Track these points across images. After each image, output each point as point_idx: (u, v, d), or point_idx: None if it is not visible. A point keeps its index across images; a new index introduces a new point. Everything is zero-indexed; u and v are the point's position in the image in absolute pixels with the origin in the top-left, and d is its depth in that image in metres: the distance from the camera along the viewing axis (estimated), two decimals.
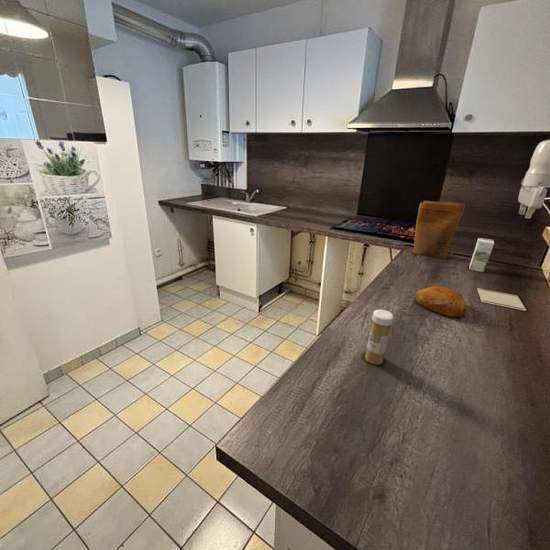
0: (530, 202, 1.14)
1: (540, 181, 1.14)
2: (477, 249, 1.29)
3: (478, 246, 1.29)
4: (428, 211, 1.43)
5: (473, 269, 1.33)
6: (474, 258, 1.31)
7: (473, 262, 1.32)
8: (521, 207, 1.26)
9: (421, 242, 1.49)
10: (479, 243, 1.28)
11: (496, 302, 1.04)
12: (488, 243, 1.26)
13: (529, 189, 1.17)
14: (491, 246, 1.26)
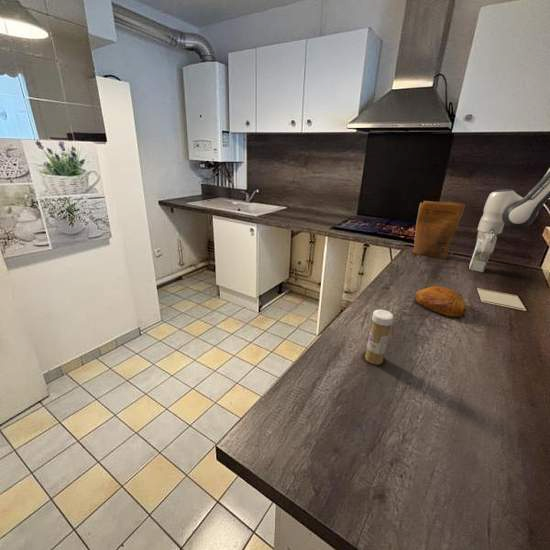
0: (482, 247, 1.23)
1: (492, 228, 1.23)
2: (477, 249, 1.29)
3: (478, 246, 1.29)
4: (428, 211, 1.43)
5: (473, 269, 1.33)
6: (474, 258, 1.31)
7: (473, 262, 1.32)
8: None
9: (421, 242, 1.49)
10: (479, 243, 1.28)
11: (496, 302, 1.04)
12: None
13: (483, 234, 1.27)
14: None
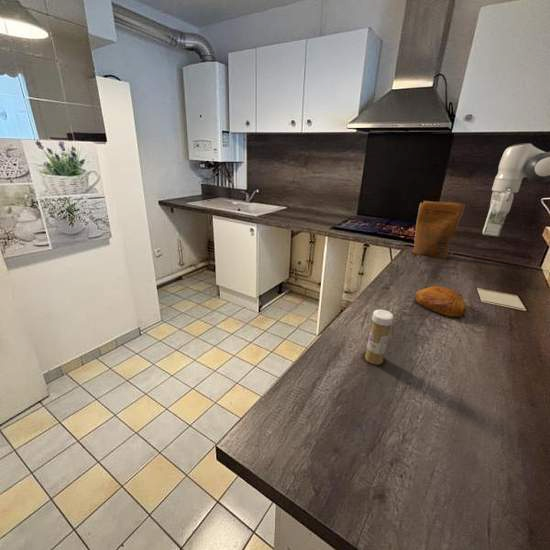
0: (498, 207, 1.15)
1: (508, 186, 1.14)
2: (491, 211, 1.21)
3: (493, 208, 1.20)
4: (428, 211, 1.43)
5: (487, 233, 1.24)
6: (488, 221, 1.23)
7: (487, 226, 1.23)
8: None
9: (421, 242, 1.49)
10: (494, 204, 1.20)
11: (496, 302, 1.04)
12: None
13: (498, 194, 1.18)
14: None
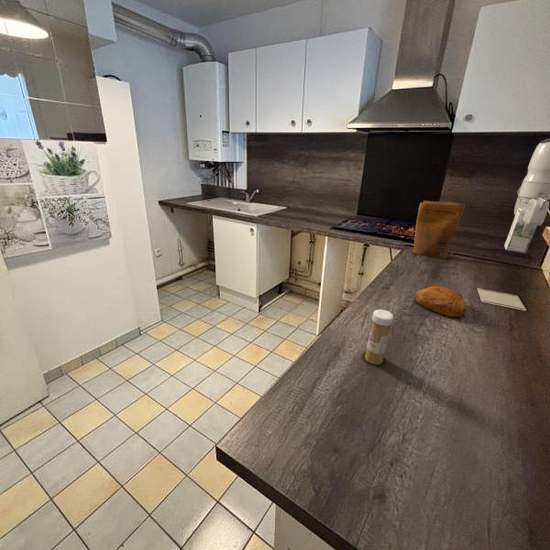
0: (528, 217, 0.91)
1: (541, 191, 0.91)
2: (518, 221, 0.97)
3: (519, 217, 0.97)
4: (428, 211, 1.43)
5: (511, 249, 1.01)
6: (513, 234, 0.99)
7: (512, 239, 1.00)
8: None
9: (421, 242, 1.49)
10: (521, 213, 0.96)
11: (496, 302, 1.04)
12: None
13: (527, 201, 0.95)
14: None
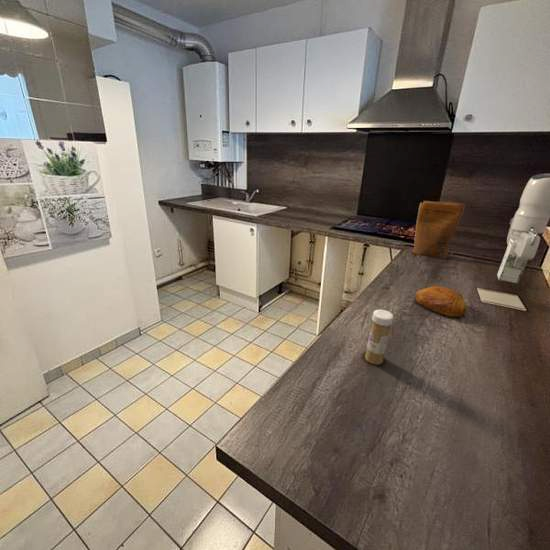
0: (520, 251, 0.93)
1: (532, 225, 0.92)
2: (510, 253, 0.99)
3: (511, 249, 0.98)
4: (428, 211, 1.43)
5: (504, 279, 1.02)
6: (505, 265, 1.01)
7: (504, 270, 1.01)
8: None
9: (421, 242, 1.49)
10: (513, 245, 0.98)
11: (496, 302, 1.04)
12: None
13: (519, 234, 0.96)
14: None
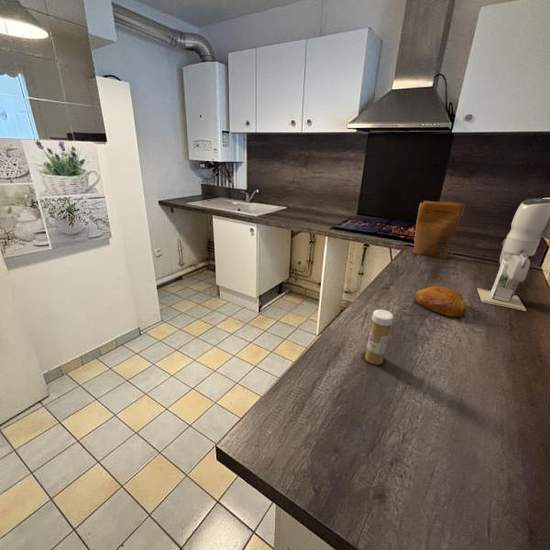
0: (511, 273, 0.96)
1: (523, 249, 0.96)
2: (502, 273, 1.02)
3: (504, 270, 1.01)
4: (428, 211, 1.43)
5: (496, 298, 1.05)
6: (498, 284, 1.04)
7: (497, 289, 1.04)
8: None
9: (421, 242, 1.49)
10: (505, 266, 1.01)
11: (496, 302, 1.04)
12: None
13: (510, 256, 0.99)
14: None
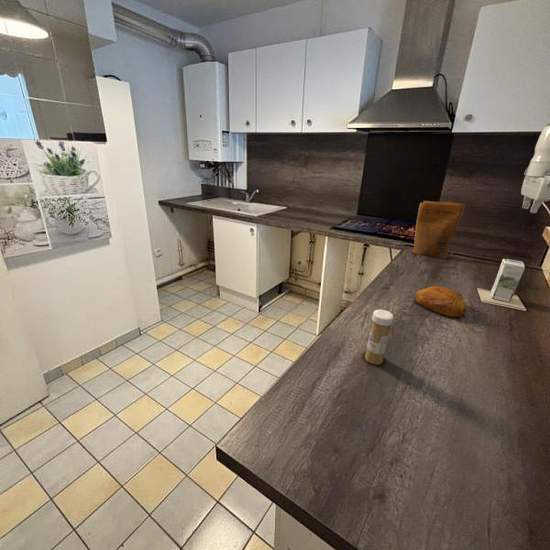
0: (536, 194, 0.99)
1: (547, 170, 0.99)
2: (502, 273, 1.02)
3: (504, 270, 1.01)
4: (428, 211, 1.43)
5: (496, 298, 1.05)
6: (498, 284, 1.04)
7: (497, 289, 1.04)
8: (525, 201, 1.12)
9: (421, 242, 1.49)
10: (505, 266, 1.01)
11: (496, 302, 1.04)
12: (517, 267, 0.99)
13: (534, 179, 1.03)
14: (521, 270, 0.99)
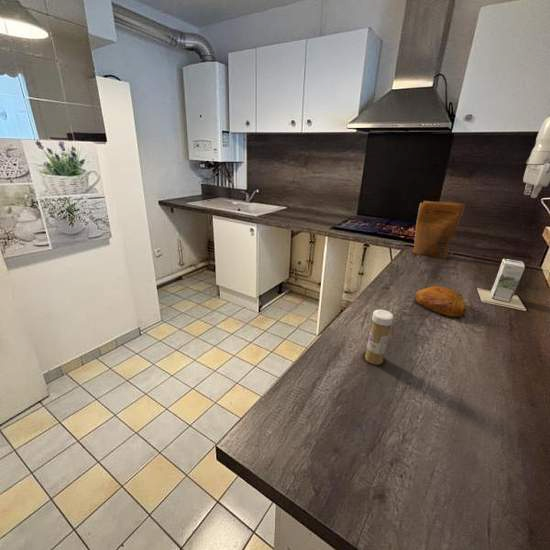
0: (536, 180, 1.10)
1: (547, 158, 1.09)
2: (502, 273, 1.02)
3: (504, 270, 1.01)
4: (428, 211, 1.43)
5: (496, 298, 1.05)
6: (498, 284, 1.04)
7: (497, 289, 1.04)
8: (526, 187, 1.22)
9: (421, 242, 1.49)
10: (505, 266, 1.01)
11: (496, 302, 1.04)
12: (517, 267, 0.99)
13: (535, 167, 1.13)
14: (521, 270, 0.99)
